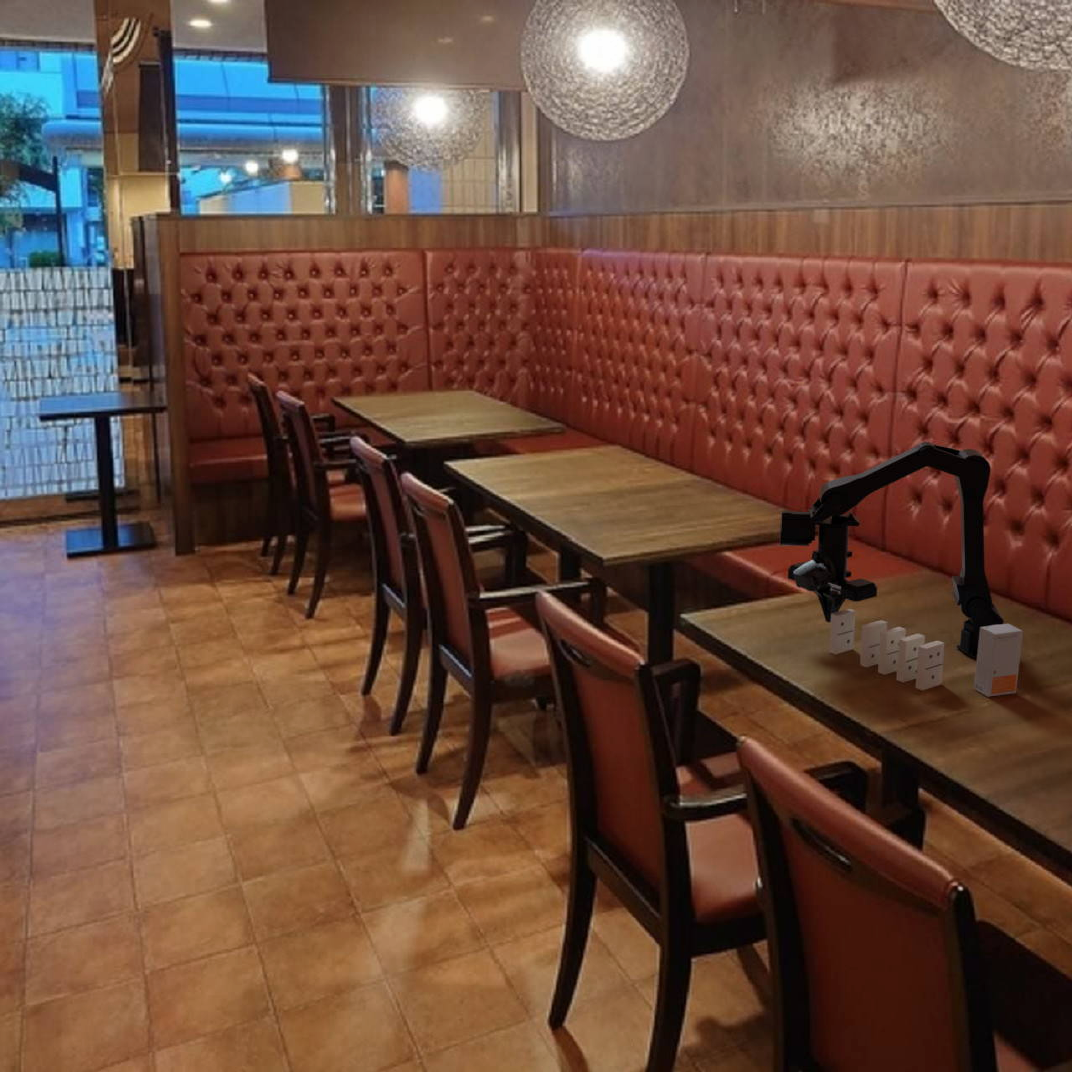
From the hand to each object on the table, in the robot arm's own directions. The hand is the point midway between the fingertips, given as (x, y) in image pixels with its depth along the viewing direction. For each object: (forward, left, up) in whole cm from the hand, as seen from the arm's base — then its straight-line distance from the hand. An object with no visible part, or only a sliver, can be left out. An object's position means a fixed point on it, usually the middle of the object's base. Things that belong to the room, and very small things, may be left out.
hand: (829, 621), depth 225 cm
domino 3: (-5, +15, -5) cm, 17 cm away
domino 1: (-1, +3, -5) cm, 6 cm away
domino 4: (-6, +19, -5) cm, 21 cm away
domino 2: (-3, +11, -5) cm, 13 cm away
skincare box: (-17, +29, -5) cm, 34 cm away
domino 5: (-7, +24, -5) cm, 25 cm away
